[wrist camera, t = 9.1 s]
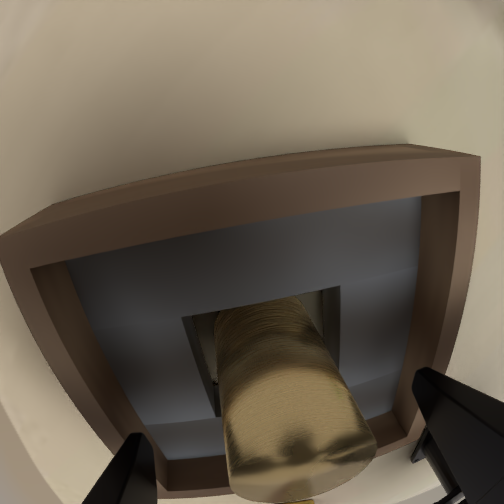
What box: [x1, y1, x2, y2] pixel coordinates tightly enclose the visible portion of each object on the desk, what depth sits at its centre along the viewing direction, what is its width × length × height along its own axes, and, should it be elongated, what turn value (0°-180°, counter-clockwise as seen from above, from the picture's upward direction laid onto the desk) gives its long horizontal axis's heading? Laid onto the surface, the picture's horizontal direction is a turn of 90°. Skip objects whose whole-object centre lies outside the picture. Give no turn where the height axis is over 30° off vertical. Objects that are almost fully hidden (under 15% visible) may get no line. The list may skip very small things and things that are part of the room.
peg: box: [214, 296, 377, 503], centre depth 10 cm, size 4×4×7 cm
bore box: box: [0, 144, 481, 499], centre depth 11 cm, size 14×14×4 cm
